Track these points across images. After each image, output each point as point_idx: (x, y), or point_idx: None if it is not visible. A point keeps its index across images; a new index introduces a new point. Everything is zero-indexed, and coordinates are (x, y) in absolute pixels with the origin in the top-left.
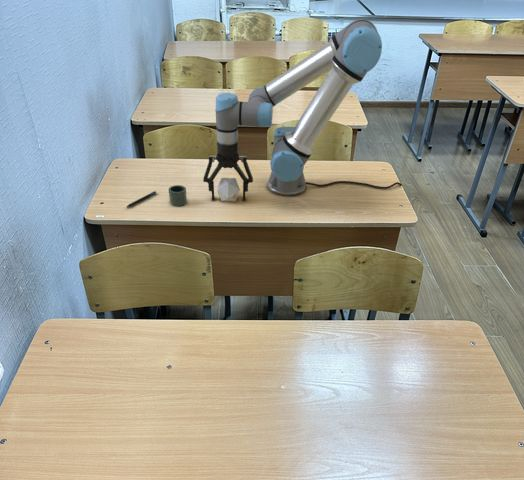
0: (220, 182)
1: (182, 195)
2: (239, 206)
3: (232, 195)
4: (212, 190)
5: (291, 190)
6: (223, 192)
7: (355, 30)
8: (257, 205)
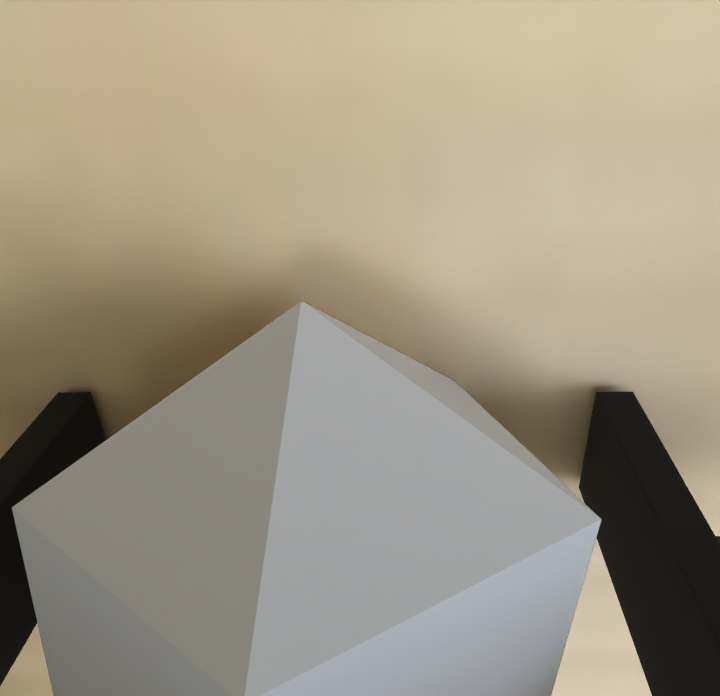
0: None
1: None
2: (107, 209)
3: (197, 377)
4: (695, 538)
5: None
6: (420, 435)
7: None
8: None
